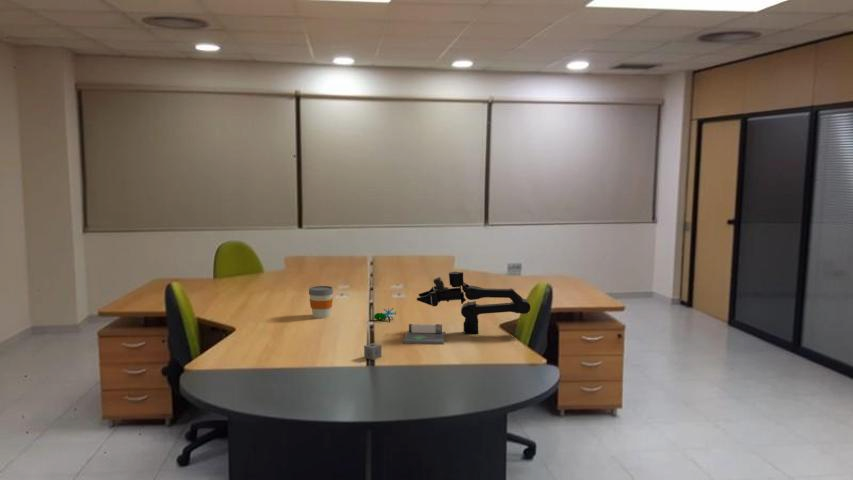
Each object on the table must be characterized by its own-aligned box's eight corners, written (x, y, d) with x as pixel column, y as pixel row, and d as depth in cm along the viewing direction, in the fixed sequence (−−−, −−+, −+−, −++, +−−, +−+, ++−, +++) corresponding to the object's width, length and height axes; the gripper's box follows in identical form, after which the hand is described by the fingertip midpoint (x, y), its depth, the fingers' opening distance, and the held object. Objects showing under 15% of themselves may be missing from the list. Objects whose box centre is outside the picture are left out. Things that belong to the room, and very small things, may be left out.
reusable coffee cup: (328, 319, 325) (328, 290, 323) (305, 318, 328) (304, 290, 326) (337, 313, 337) (336, 286, 336) (314, 312, 340) (314, 285, 338)
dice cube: (372, 354, 265) (372, 343, 265) (381, 357, 262) (381, 345, 261) (364, 357, 261) (364, 345, 261) (373, 360, 258) (372, 348, 258)
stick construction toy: (398, 314, 326) (393, 304, 321) (399, 324, 321) (395, 314, 316) (375, 320, 327) (371, 311, 322) (377, 330, 322) (372, 321, 317)
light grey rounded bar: (442, 331, 294) (442, 324, 294) (442, 333, 291) (441, 325, 291) (409, 331, 296) (409, 323, 295) (408, 333, 293) (408, 325, 292)
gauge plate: (445, 334, 296) (445, 331, 296) (443, 343, 280) (443, 340, 280) (407, 333, 297) (407, 330, 297) (403, 343, 282) (403, 340, 281)
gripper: (450, 274, 306) (418, 276, 307) (447, 281, 287) (413, 284, 289) (452, 296, 307) (420, 299, 309) (450, 305, 289) (416, 308, 290)
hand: (417, 297), depth 299 cm, fingers open, 9 cm apart
